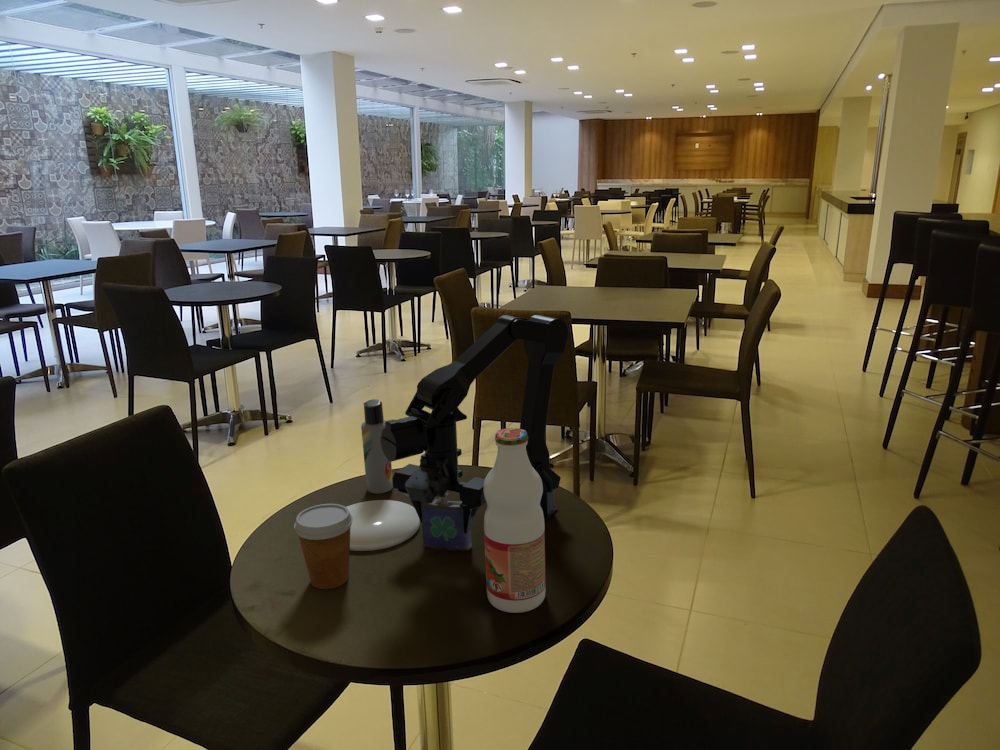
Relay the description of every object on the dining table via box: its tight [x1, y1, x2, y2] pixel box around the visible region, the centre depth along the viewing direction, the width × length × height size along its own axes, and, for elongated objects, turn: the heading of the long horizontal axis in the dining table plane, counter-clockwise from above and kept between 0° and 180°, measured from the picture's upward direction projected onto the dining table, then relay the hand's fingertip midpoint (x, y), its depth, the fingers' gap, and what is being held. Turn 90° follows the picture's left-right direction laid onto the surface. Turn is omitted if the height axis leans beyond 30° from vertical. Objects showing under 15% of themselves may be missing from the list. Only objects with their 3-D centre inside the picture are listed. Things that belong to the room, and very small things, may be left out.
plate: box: [346, 499, 421, 552], centre depth 139 cm, size 18×18×2 cm
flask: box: [421, 492, 472, 552], centre depth 129 cm, size 9×3×11 cm, turn 75°
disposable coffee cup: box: [293, 503, 353, 590], centre depth 120 cm, size 10×10×12 cm
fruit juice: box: [483, 427, 547, 614], centre depth 111 cm, size 9×9×28 cm
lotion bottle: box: [360, 399, 394, 495], centre depth 153 cm, size 6×6×20 cm
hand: (445, 527), depth 130 cm, fingers open, 9 cm apart
